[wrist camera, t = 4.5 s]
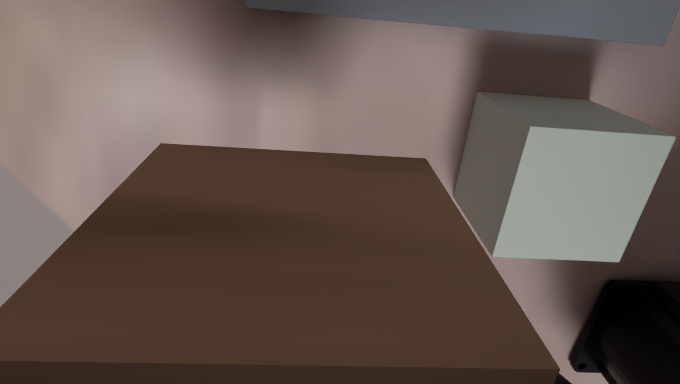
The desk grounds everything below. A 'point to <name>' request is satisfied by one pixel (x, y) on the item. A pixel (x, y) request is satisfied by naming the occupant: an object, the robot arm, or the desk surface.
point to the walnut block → (271, 281)
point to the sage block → (556, 176)
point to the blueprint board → (509, 15)
